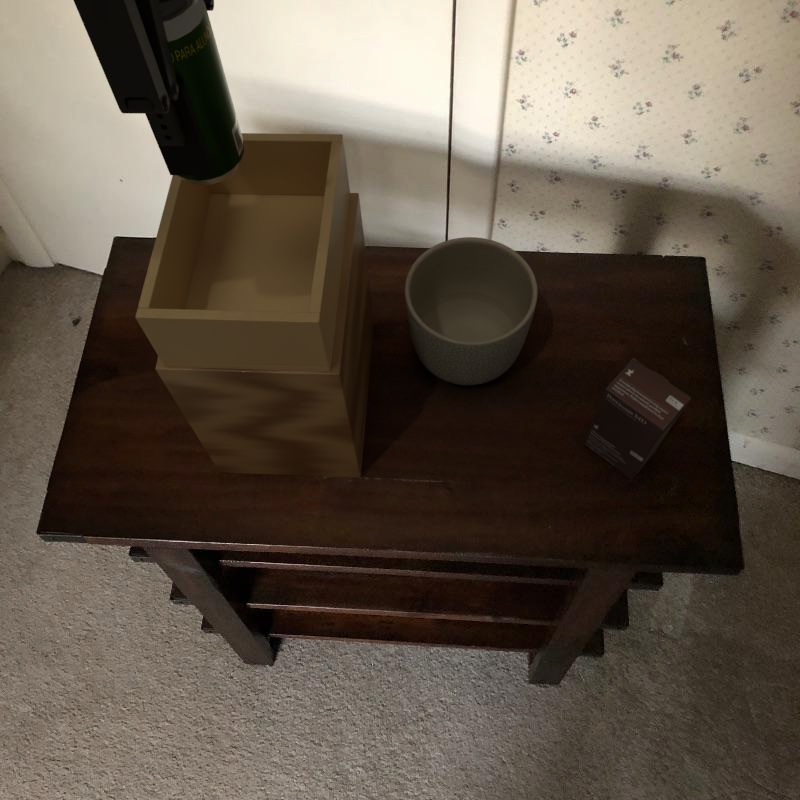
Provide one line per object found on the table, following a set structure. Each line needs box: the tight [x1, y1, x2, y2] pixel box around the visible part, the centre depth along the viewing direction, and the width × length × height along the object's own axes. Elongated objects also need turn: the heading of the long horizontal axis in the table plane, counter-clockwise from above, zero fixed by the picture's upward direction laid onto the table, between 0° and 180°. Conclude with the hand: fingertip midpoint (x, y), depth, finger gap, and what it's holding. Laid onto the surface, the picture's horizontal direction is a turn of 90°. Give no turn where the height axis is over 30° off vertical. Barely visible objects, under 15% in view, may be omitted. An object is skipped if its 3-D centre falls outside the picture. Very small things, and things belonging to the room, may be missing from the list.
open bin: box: [135, 132, 351, 372], centre depth 59 cm, size 13×18×7 cm
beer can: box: [158, 0, 244, 185], centre depth 48 cm, size 5×5×12 cm
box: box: [582, 357, 692, 481], centre depth 70 cm, size 6×4×12 cm
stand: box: [154, 192, 375, 479], centre depth 70 cm, size 14×18×20 cm
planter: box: [404, 236, 539, 386], centre depth 76 cm, size 12×12×11 cm
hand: (199, 137), depth 51 cm, fingers closed on beer can, 5 cm apart
